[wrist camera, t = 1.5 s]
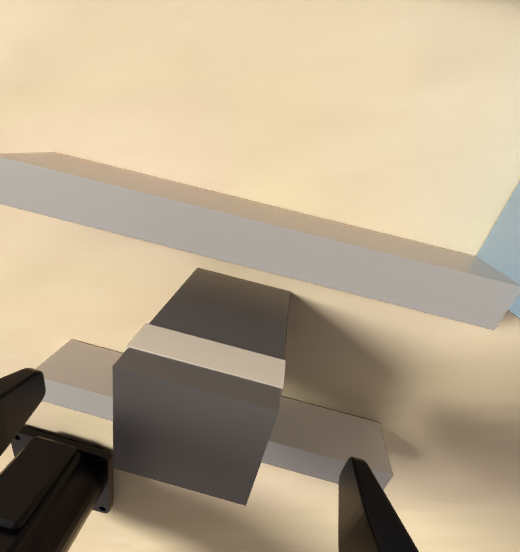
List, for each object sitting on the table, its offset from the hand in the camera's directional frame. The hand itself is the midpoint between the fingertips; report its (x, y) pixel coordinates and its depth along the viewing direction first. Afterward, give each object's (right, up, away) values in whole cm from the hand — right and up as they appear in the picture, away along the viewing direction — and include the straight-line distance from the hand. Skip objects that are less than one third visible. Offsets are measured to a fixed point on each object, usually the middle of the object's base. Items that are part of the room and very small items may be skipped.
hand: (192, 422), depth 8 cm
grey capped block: (+1, +2, +5) cm, 5 cm away
